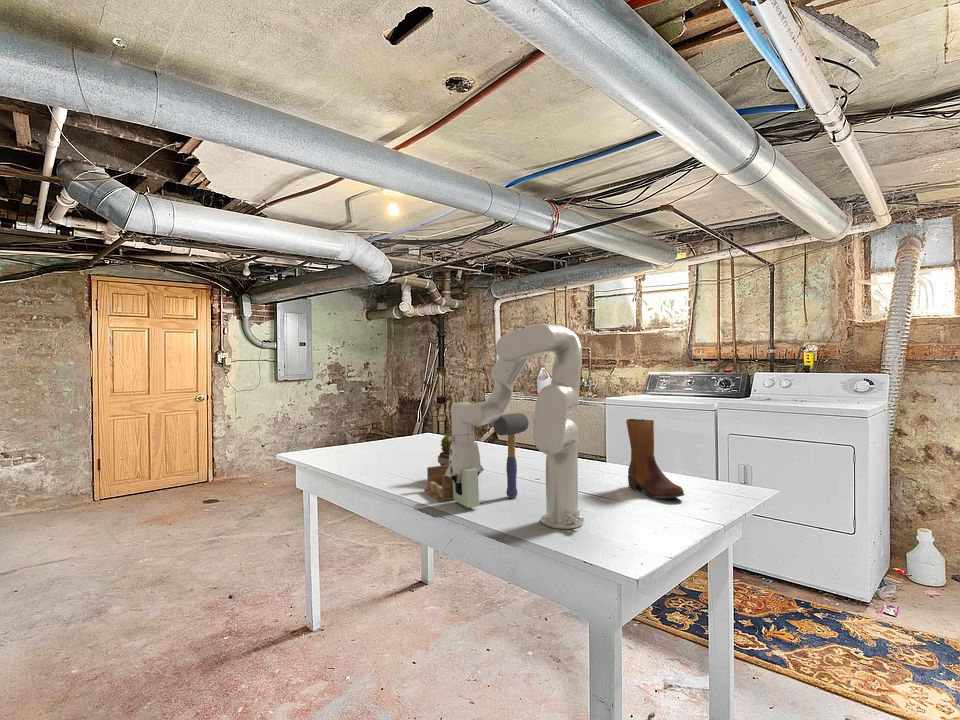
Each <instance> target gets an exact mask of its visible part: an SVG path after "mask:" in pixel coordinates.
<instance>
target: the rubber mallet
mask: <svg viewBox="0 0 960 720" xmlns="http://www.w3.org/2000/svg"><path fill="white" fill-rule="evenodd" d="M492 423H493V424H492V425H493V426H492V427H493V431H494V432H495V434H496V435H497V436H501V437H502V436H507V458H506V476H507V477H506V478H507V482H506V485H507V487H506V496H507V497H508V498H509V499H516V498H517V496H518V489H517V473H518V468H517V467H518V465H517V459H516V442H515V441H516V440H515V439H516V438H515V435H517V434H520V433H525V432H526V431H527V429H528V428H529V424H530V423H529V419H528V417H527V416H526V414H524V413H522V412H520V413H519V412H517V413H516V412H515V413H507V414H502V415H501V417H500V418H499V419H498V420H497V421H495V422H492Z"/></svg>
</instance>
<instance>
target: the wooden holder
mask: <svg viewBox="0 0 960 720" xmlns="http://www.w3.org/2000/svg"><path fill="white" fill-rule="evenodd" d="M448 467H449V465H442V466H440V465H435V466H427V468H426V469H427V470H426V471H427V474H426V475H427V488H424V493H426V494H428V495H429V496H430V497H431V498H433V499H435V500H437V501H438V502H439V503H447V502H453V501H455V500H453V480H452V479H451V478H450V477H448V476H446V475H445V473H446V471H447V469H448Z"/></svg>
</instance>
